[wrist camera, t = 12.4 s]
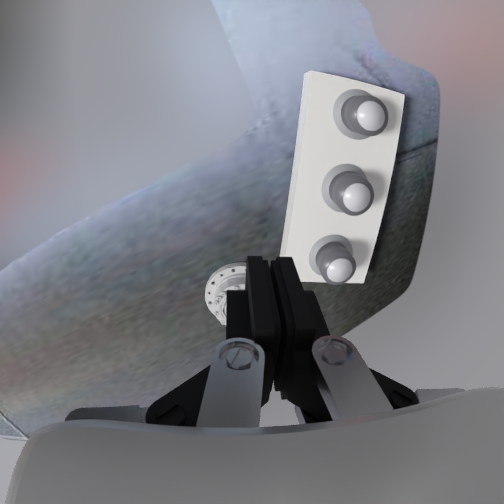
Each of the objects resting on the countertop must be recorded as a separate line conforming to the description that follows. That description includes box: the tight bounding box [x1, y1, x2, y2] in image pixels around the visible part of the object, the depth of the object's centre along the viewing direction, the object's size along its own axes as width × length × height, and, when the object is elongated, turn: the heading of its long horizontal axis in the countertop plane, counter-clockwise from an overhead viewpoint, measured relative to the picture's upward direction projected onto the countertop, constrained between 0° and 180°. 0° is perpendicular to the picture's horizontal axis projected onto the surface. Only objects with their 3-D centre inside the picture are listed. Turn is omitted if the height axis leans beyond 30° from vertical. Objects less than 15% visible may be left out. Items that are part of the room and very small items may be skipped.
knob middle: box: [329, 171, 374, 216], centre depth 32 cm, size 4×4×3 cm
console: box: [280, 71, 405, 283], centre depth 35 cm, size 26×12×3 cm, turn 175°
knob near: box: [341, 95, 388, 136], centre depth 28 cm, size 4×4×3 cm
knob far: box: [315, 242, 356, 285], centre depth 36 cm, size 4×4×3 cm
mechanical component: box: [205, 262, 246, 325], centre depth 41 cm, size 10×4×10 cm
